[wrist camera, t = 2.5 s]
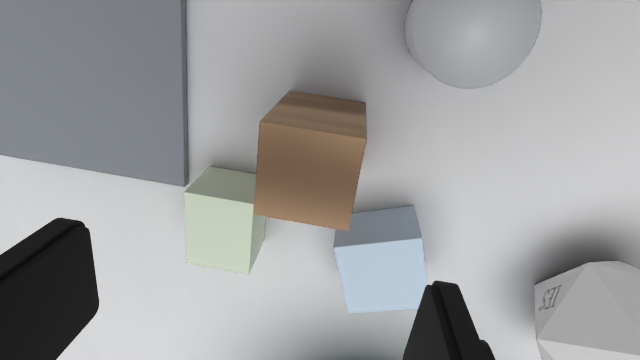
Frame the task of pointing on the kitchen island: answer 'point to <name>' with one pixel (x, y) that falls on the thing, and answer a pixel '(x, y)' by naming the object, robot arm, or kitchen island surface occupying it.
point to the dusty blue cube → (381, 261)
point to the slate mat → (96, 85)
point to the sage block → (223, 221)
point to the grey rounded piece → (471, 38)
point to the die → (589, 313)
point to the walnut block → (310, 159)
